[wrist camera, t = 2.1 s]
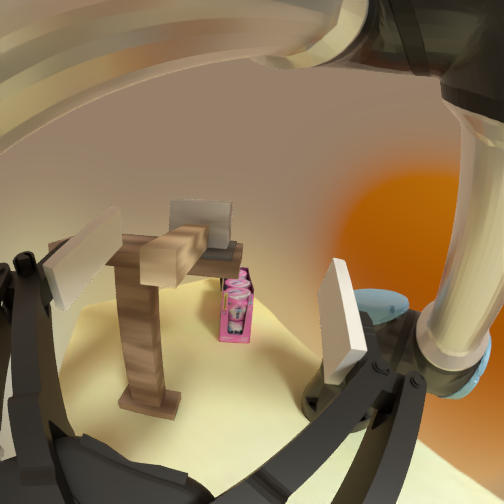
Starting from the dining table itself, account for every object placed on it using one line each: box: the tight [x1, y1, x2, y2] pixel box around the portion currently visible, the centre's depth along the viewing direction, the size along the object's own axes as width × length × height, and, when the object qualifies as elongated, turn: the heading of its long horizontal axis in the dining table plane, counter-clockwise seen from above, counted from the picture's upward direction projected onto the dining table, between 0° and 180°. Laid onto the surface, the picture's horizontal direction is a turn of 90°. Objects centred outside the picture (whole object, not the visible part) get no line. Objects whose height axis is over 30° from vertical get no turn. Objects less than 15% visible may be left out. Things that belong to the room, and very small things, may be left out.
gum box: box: [219, 267, 254, 343], centre depth 74 cm, size 24×8×14 cm, turn 4°
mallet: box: [140, 199, 233, 288], centre depth 30 cm, size 22×8×6 cm, turn 0°
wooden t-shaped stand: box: [48, 234, 243, 420], centre depth 40 cm, size 12×28×28 cm, turn 90°
